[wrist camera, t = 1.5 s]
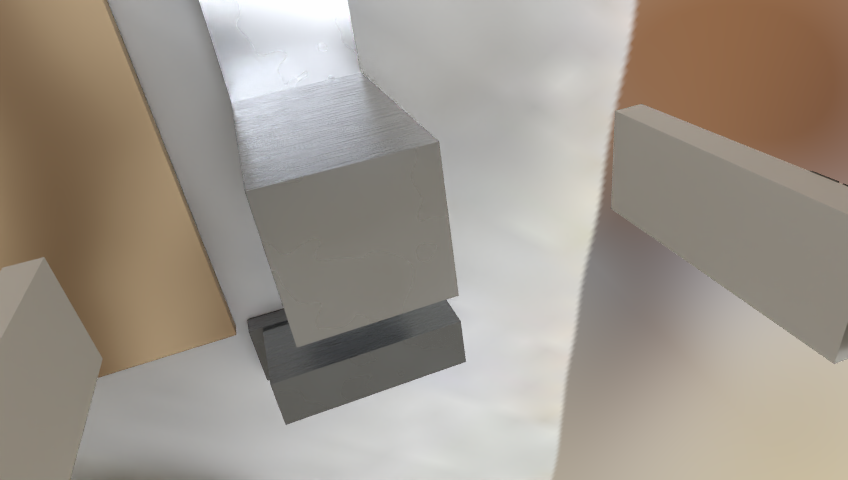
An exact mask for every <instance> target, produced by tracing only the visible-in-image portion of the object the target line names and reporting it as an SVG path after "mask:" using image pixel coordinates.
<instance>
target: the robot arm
mask: <svg viewBox="0 0 848 480" xmlns="http://www.w3.org/2000/svg"><path fill="white" fill-rule="evenodd" d="M613 152H614V153H613V176H612V202H611V209H612V210H614V211H615V212H617V213H618V214H620V215H621V216H622V217H624V218H625V219H627V220H628V221H630V222H631V223H633V224H634V225H636V226H637V227H638V228H640V229H641V230H643V231H644V232H646V233H647V234H648V235H650V236H651V237H653V238H654V239H655V240H657V241H658V242H660V243H661V244H663V245H664V246H666V247H667V248H669V249H670V250H671V251H673V252H674V253H676V254H677V255H678V256H680V257H681V258H683V259H684V260H686V261H687V262H688V263H690V264H691V265H693V266H694V267H696V268H697V269H699V270H700V271H701V272H703V273H704V274H706V275H707V276H709V277H710V278H711V279H713V280H714V281H716V282H717V283H719V284H720V285H721V286H723V287H724V288H726V289H727V290H729V291H730V292H732V293H733V294H734V295H736V296H737V297H739V298H740V299H742V300H743V301H744V302H746V303H747V304H749V305H750V306H752V307H753V308H754V309H756V310H757V311H759V312H760V313H762V314H763V315H765V316H766V317H767V318H769V319H770V320H772V321H773V322H775V323H776V324H777V325H779V326H780V327H782V328H783V329H785V330H786V331H787V332H789V333H790V334H792V335H793V336H795V337H796V338H798V339H799V340H800V341H802V342H803V343H805V344H806V345H808V346H809V347H810V348H812V349H814V350H815V351H816V352H818V353H819V354H820V355H822V356H823V357H825V358H826V359H828V360H829V361H831V362H832V363H833V364H835V363H838V362H840V361H843V360H846V359H848V185H846V184H840V183H839V181H836V180H834V179H831V178H829V177H826V176H823V175H821V174H818V173H816V172H813V171H808V170H805V169H802V168H800V167H797V166H795V165H793V164H790V163H787V162H785V161H782V160H780V159H777V158H775V157H773V156H770V155H768V154H765V153H762V152H760V151H757V150H755V149H753V148H750V147H748V146H745V145H742V144H740V143H738V142H735V141H733V140H730V139H728V138H725V137H723V136H720V135H718V134H715V133H713V132H710V131H708V130H705V129H703V128H700V127H698V126H695V125H692V124H690V123H688V122H685V121H683V120H680V119H678V118H675V117H673V116H670V115H668V114H665V113H663V112H660V111H658V110H655V109H653V108H650V107H648V106H645V105H643V104H640V105H637V106H633V107H629V108H625V109H621V110H617V111H615V126H614V151H613ZM102 359H103V358H102V357H101V355H100V353H99V351H98V350H97V348H96V346H95V345H94V343H93V341H92V339H91V338H90V336H89V334H88V332H87V331H86V329H85V327H84V325H83V324H82V322H81V320H80V318H79V317H78V315H77V313H76V311H75V310H74V308H73V306H72V304H71V303H70V301H69V299H68V297H67V296H66V294H65V292H64V290H63V289H62V287H61V285H60V283H59V282H58V280H57V278H56V277H55V275H54V273H53V271H52V270H51V268H50V266H49V264H48V263H47V261H46V259H45V257H42V258H38V259H35V260H31V261H27V262H23V263H19V264H15V265H11V266H7V267H3V268H2V270H1V271H0V480H70V479H71V475H72V471H73V468H74V464H75V460H76V457H77V453H78V449H79V445H80V442H81V438H82V434H83V430H84V427H85V423H86V419H87V415H88V412H89V408H90V404H91V400H92V397H93V393H94V389H95V386H96V382H97V378H98V374H99V371H100V367H101V363H102Z"/></svg>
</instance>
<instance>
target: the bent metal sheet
mask: <svg viewBox="0 0 848 480" xmlns="http://www.w3.org/2000/svg"><path fill="white" fill-rule="evenodd" d="M199 2H200V6H201V9H202V12H203V15H204V18H205V21H206V24H207V28H208V31H209V34H210V37H211V40H212V43H213V47H214V50H215V53H216V56H217V59H218V62H219V65H220V69H221V72H222V75H223V78H224V81H225V84H226V87H227V91H228V94H229V97H230V100H231V105H232V111H233V118H234V124H235V131H236V137H237V143H238V150H239V156H240V163H241V169H242V175H243V182H244V188H245V193H246V196H247V199H248V202H249V205H250V208H251V211H252V214H253V217H254V220H255V223H256V226H257V229H258V232H259V235H260V238H261V241H262V244H263V247H264V250H265V253H266V256H267V259H268V262H269V265H270V268H271V271H272V274H273V277H274V280H275V283H276V286H277V289H278V292H279V295H280V298H281V301H282V304H283V307H284V310H285V313H286V316H287V319H288V322H289V325H290V328H291V331H292V334H293V337H294V340H295V343H296V347H301V346H304V345H307V344H310V343H313V342H316V341H319V340H322V339H325V338H328V337H332V336H335V335H338V334H341V333H344V332H347V331H350V330H353V329H356V328H359V327H363V326H366V325H369V324H372V323H375V322H378V321H381V320H384V319H387V318H390V317H394V316H397V315H400V314H403V313H406V312H409V311H412V310H415V309H418V308H421V307H425V306H428V305H431V304H434V303H437V302H440V301H443V300H446V299H449V298H452V297H456V296H459V295H458V287H457V279H456V271H455V264H454V256H453V248H452V240H451V232H450V225H449V217H448V209H447V201H446V193H445V186H444V178H443V170H442V162H441V154H440V147H439V141H438V140H437V139H435V138H434V137H433V136H432V135H431V134H430V133H429V132H427V131H426V130H425V129H424V128H423V127H422V126H421V125H420V124H418V123H417V122H416V121H415V120H414V119H413V118H412V117H411V116H409V115H408V114H407V113H406V112H405V111H404V110H403V109H402V108H400V107H399V106H398V105H397V104H396V103H395V102H394V101H393V100H391V99H390V98H389V97H388V96H387V95H386V94H385V93H383V92H382V91H381V90H380V89H379V88H378V87H377V86H376V85H374V84H373V83H372V82H371V81H370V80H369V79H368V78H367V77H365V76H364V75H363V74H362V73H361V70H360V65H359V59H358V54H357V49H356V44H355V38H354V33H353V28H352V23H351V17H350V12H349V7H348V2H347V0H199Z"/></svg>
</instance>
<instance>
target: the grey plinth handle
mask: <svg viewBox="0 0 848 480" xmlns="http://www.w3.org/2000/svg"><path fill="white" fill-rule="evenodd" d="M248 328H249V333H250V336H251V339H252V341H253V344H254V346H255V349H256V352H257V354H258V357H259V360H260V362H261V365H262V367H263V370H264V373H265V375H266V378H267V380H270V384H271V387H272V390H273V392H274V395H275V398H276V400H277V403H278V406H279V408H280V411H281V413H282V416H283V419H284V421H285V424H286V425H287V424H289V423H292V422H295V421H298V420H301V419H304V418H307V417H309V416H312V415H315V414H318V413H321V412H324V411H326V410H329V409H332V408H335V407H338V406H341V405H344V404H346V403H349V402H352V401H355V400H358V399H361V398H364V397H366V396H369V395H372V394H375V393H378V392H381V391H384V390H386V389H389V388H392V387H395V386H398V385H401V384H404V383H406V382H409V381H412V380H415V379H418V378H421V377H423V376H426V375H429V374H432V373H435V372H438V371H441V370H443V369H446V368H449V367H452V366H455V365H458V364H461V363H463V362H466V359H465V351H464V344H463V336H462V328H461V321H460V320H459V318H458V317H457V315H456V314H455V312H454V311H453V309H452V308H451V306H450V305H449V303H448V302H447V300H443V301H440V302H437V303H434V304H431V305H428V306H425V307H421V308H418V309H415V310H412V311H409V312H406V313H403V314H400V315H397V316H394V317H390V318H387V319H384V320H381V321H378V322H375V323H372V324H369V325H366V326H363V327H359V328H356V329H353V330H350V331H347V332H344V333H341V334H338V335H335V336H332V337H328V338H325V339H322V340H319V341H316V342H313V343H310V344H307V345H304V346H301V347H296V343H295V340H294V337H293V334H292V331H291V328H290V325H289V322H288V319H287V316H286V313H285V310H284V309H282V310H279V311H275V312H272V313H269V314H266V315H262V316H259V317H256V318H252V319H249V320H248Z"/></svg>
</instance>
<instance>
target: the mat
mask: <svg viewBox="0 0 848 480" xmlns="http://www.w3.org/2000/svg"><path fill="white" fill-rule="evenodd" d="M42 257H45V259H46V261H47V263H48V264H49V266H50V268H51V270H52V271H53V273H54V275H55V277H56V278H57V280H58V282H59V283H60V285H61V287H62V289H63V290H64V292H65V294H66V296H67V297H68V299H69V301H70V303H71V304H72V306H73V308H74V310H75V311H76V313H77V315H78V317H79V318H80V320H81V322H82V324H83V325H84V327H85V329H86V331H87V332H88V334H89V336H90V338H91V339H92V341H93V343H94V345H95V346H96V348H97V350H98V351H99V353H100V355H101V357H102V358H103V359H102V363H101V367H100V371H99V374H98V378H99V377H102V376H105V375H108V374H112V373H115V372H118V371H121V370H125V369H128V368H131V367H134V366H137V365H141V364H144V363H147V362H150V361H154V360H157V359H160V358H163V357H166V356H170V355H173V354H176V353H179V352H183V351H186V350H189V349H192V348H195V347H199V346H202V345H205V344H208V343H212V342H215V341H218V340H221V339H224V338H228V337H231V336H234V335H236V326H235V323H234V320H233V318H232V315H231V313H230V310H229V308H228V305H227V303H226V300H225V298H224V295H223V293H222V290H221V288H220V285H219V283H218V280H217V277H216V275H215V272H214V270H213V267H212V265H211V262H210V260H209V257H208V255H207V252H206V250H205V247H204V245H203V242H202V240H201V237H200V235H199V232H198V229H197V227H196V224H195V222H194V219H193V217H192V214H191V212H190V209H189V207H188V204H187V202H186V199H185V197H184V194H183V192H182V189H181V187H180V184H179V181H178V179H177V176H176V174H175V171H174V169H173V166H172V164H171V161H170V159H169V156H168V154H167V151H166V149H165V146H164V144H163V141H162V138H161V136H160V133H159V131H158V128H157V126H156V123H155V121H154V118H153V116H152V113H151V111H150V108H149V106H148V103H147V101H146V98H145V96H144V93H143V90H142V88H141V85H140V83H139V80H138V78H137V75H136V73H135V70H134V68H133V65H132V63H131V60H130V58H129V55H128V53H127V50H126V47H125V45H124V42H123V40H122V37H121V35H120V32H119V30H118V27H117V25H116V22H115V20H114V17H113V15H112V12H111V10H110V7H109V5H108V2H107V0H0V271H1V270H2V268H3V267H7V266H11V265H15V264H19V263H23V262H27V261H31V260H35V259H38V258H42Z"/></svg>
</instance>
